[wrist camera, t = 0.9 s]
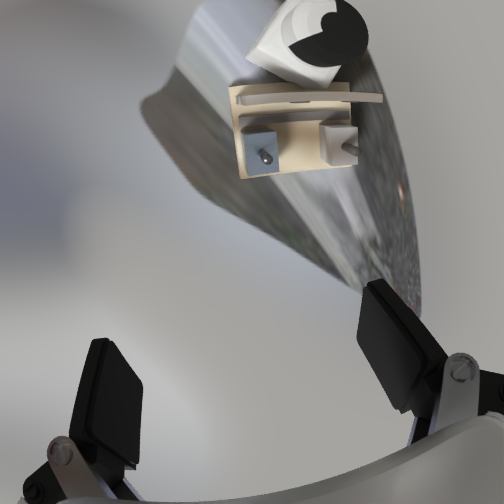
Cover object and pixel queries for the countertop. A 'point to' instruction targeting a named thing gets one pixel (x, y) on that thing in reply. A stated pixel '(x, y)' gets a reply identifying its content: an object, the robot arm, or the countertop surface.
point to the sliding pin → (260, 151)
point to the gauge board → (300, 123)
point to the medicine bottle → (310, 41)
